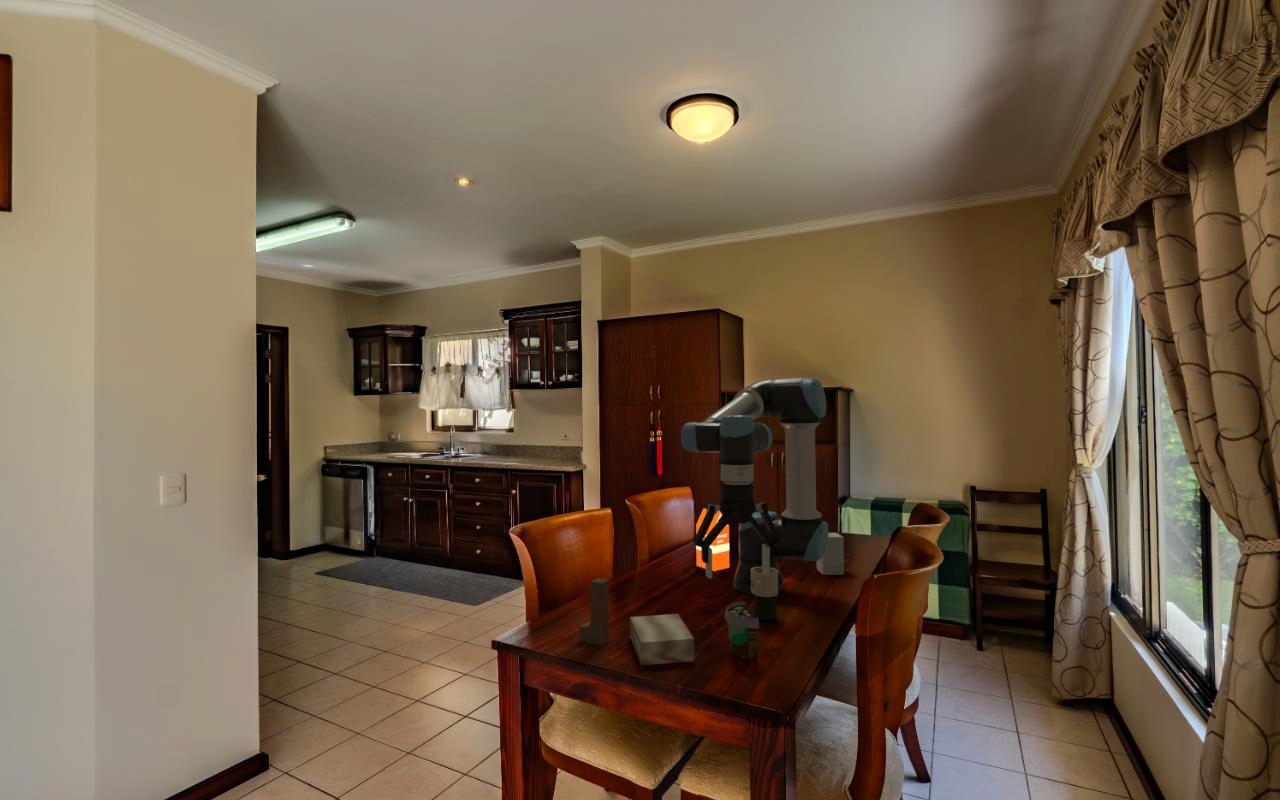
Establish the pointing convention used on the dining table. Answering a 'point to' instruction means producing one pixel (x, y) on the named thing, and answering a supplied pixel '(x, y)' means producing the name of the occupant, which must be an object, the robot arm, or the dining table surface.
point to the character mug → (764, 593)
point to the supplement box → (832, 556)
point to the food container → (742, 632)
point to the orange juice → (715, 545)
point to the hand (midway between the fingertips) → (737, 575)
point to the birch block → (661, 639)
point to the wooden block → (597, 615)
